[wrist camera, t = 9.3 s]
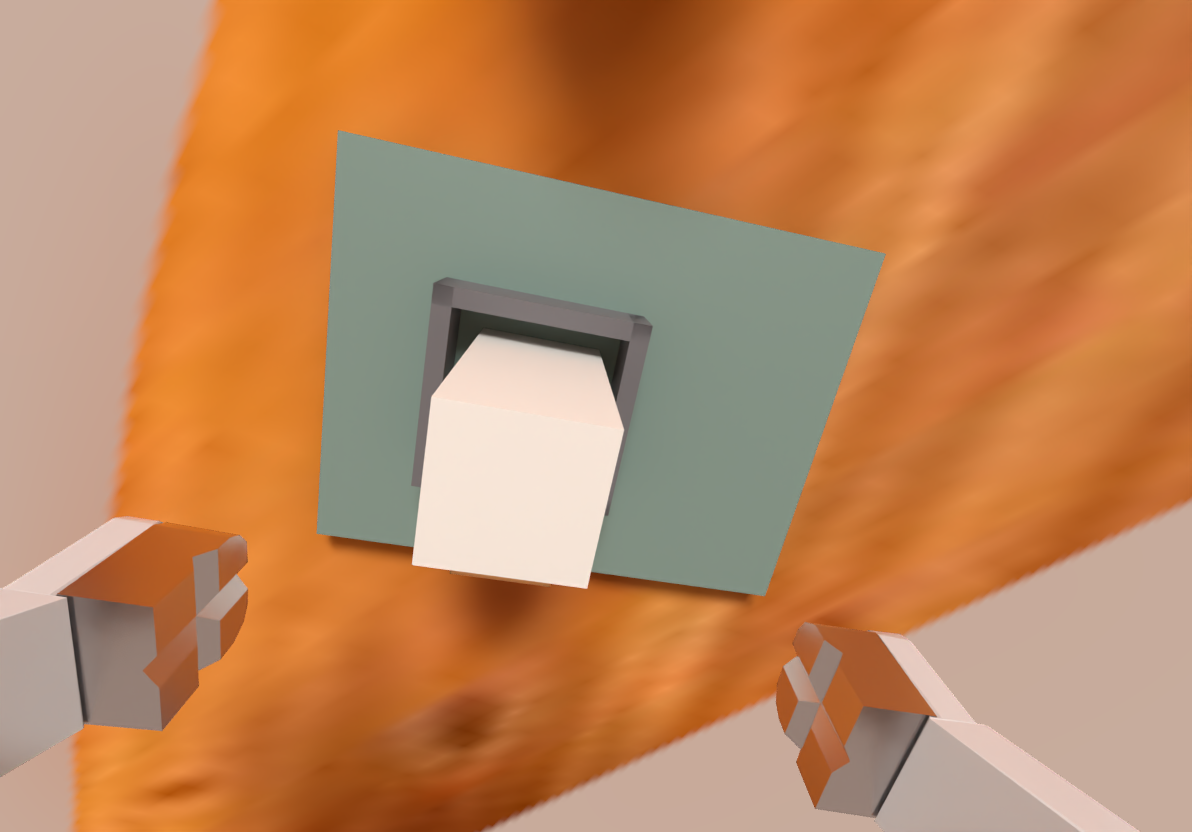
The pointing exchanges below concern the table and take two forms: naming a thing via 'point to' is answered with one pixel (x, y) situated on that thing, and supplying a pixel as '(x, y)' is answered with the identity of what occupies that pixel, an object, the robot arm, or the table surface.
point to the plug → (518, 462)
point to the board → (593, 320)
